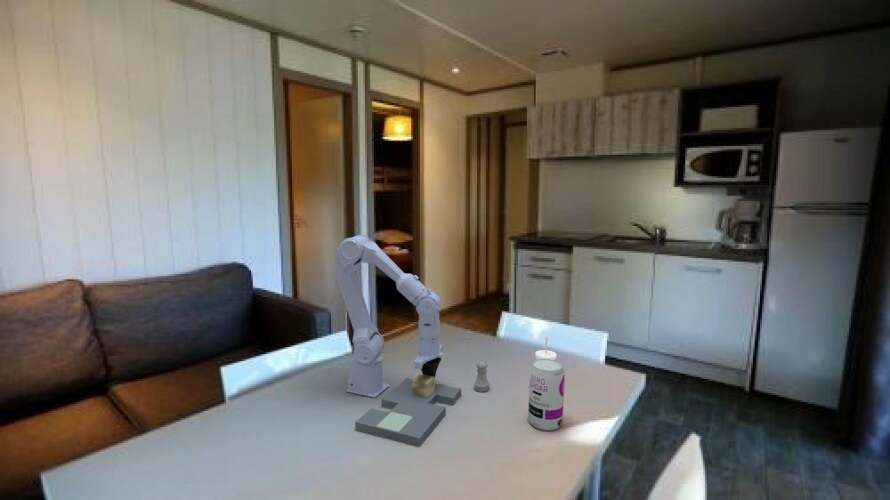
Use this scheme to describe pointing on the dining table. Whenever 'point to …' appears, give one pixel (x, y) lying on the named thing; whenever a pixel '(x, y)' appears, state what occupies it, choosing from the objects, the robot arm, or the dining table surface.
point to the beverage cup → (545, 354)
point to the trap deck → (408, 413)
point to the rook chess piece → (481, 377)
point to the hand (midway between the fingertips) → (429, 383)
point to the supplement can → (546, 394)
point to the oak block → (423, 385)
